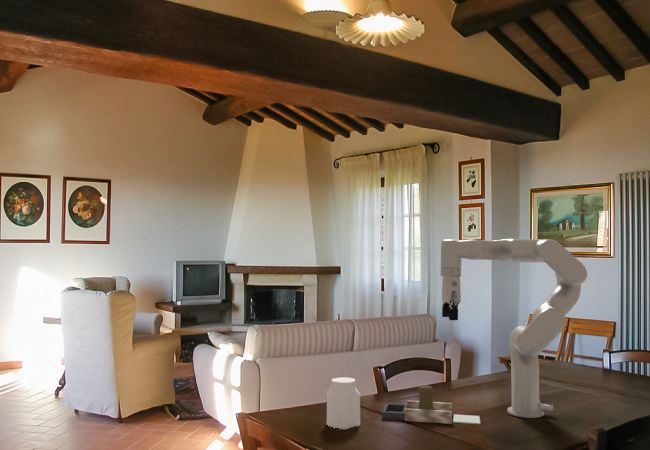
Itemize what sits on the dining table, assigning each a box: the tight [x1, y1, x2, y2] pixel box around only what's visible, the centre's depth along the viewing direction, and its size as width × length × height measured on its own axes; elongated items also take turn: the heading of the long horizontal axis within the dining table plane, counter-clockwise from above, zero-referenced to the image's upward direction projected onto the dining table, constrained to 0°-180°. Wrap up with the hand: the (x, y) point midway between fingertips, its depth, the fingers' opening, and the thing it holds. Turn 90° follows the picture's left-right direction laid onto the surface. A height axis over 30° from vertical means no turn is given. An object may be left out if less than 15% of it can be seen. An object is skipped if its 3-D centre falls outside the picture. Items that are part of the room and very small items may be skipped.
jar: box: [326, 376, 361, 430], centre depth 199 cm, size 12×10×15 cm
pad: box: [452, 413, 481, 425], centre depth 204 cm, size 9×9×1 cm
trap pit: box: [381, 403, 408, 422], centre depth 210 cm, size 8×12×2 cm, turn 167°
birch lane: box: [404, 400, 453, 425], centre depth 207 cm, size 16×12×4 cm
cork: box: [418, 385, 434, 410], centre depth 208 cm, size 6×6×11 cm
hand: (449, 318), depth 217 cm, fingers open, 9 cm apart
